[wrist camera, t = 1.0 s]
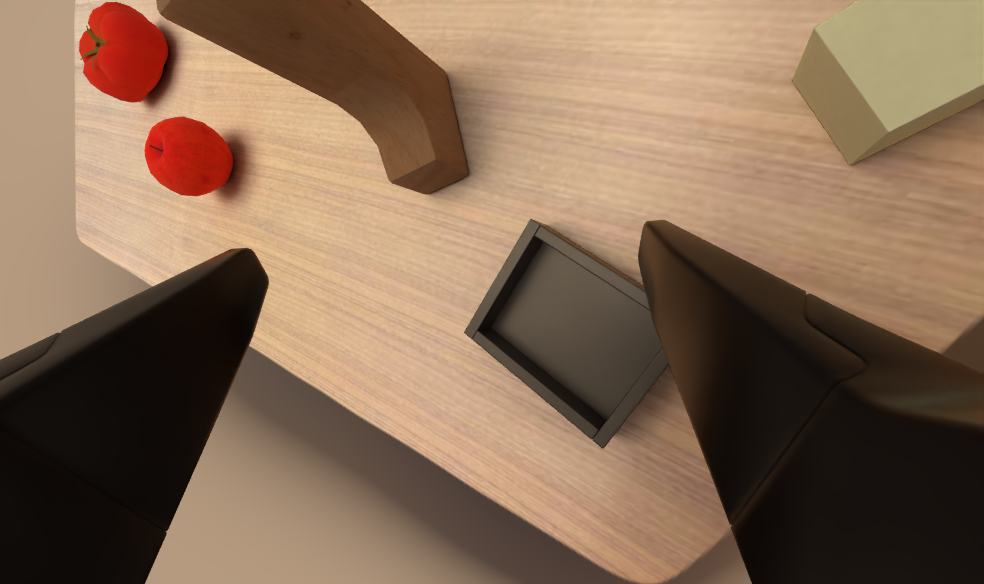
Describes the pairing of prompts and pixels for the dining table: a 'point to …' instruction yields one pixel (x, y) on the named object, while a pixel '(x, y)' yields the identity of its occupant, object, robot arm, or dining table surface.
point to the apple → (188, 156)
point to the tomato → (122, 52)
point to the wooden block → (346, 74)
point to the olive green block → (892, 70)
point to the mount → (571, 331)
